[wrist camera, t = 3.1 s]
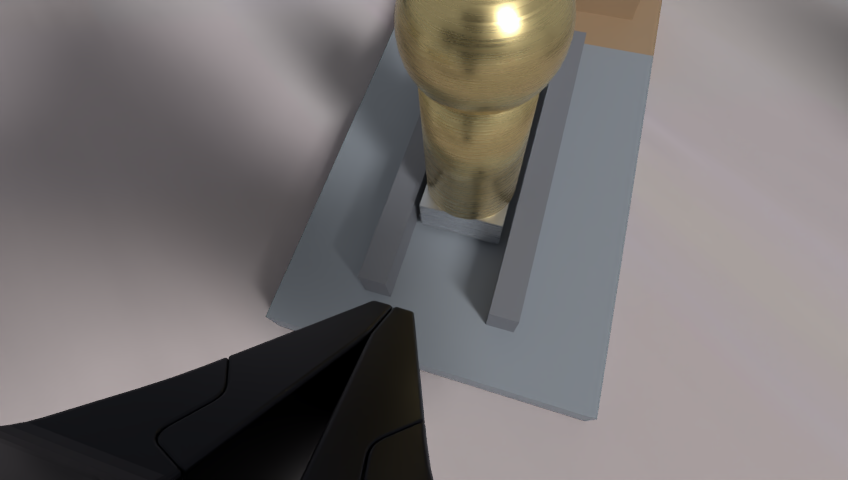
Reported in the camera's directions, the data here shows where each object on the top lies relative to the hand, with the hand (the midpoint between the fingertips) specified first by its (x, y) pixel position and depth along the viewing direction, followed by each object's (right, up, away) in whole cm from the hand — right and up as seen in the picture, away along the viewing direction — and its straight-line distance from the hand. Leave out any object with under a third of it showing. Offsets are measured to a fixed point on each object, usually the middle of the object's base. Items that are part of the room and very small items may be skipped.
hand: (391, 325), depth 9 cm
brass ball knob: (+3, +6, +10) cm, 12 cm away
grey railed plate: (+4, +6, +12) cm, 14 cm away
